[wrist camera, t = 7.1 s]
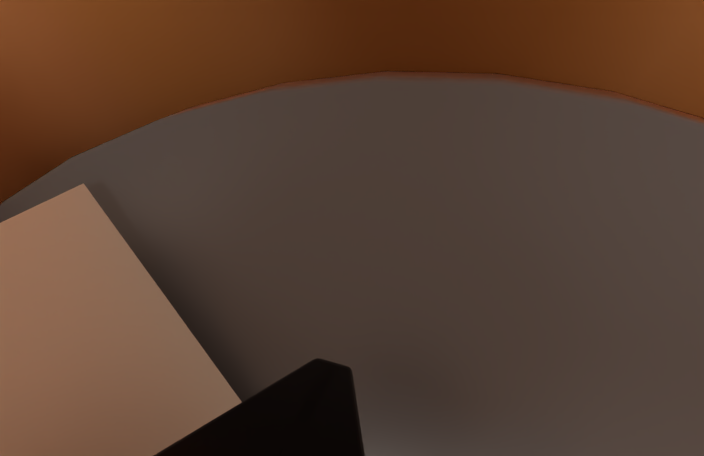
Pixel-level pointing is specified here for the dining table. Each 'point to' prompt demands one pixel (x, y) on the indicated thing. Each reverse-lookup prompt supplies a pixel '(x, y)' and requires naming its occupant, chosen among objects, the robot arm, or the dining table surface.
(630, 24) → the dining table surface
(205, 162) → the round gray plate
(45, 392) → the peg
